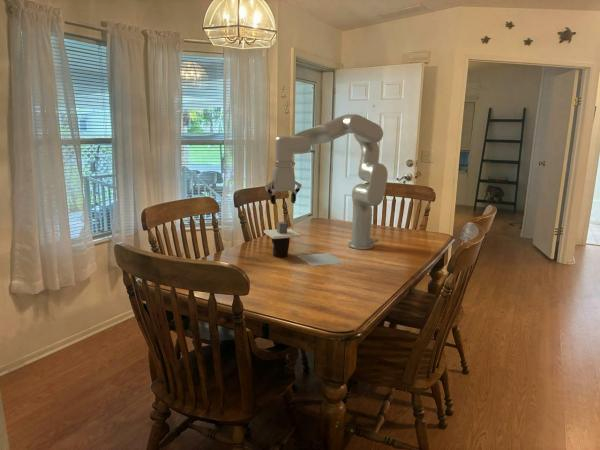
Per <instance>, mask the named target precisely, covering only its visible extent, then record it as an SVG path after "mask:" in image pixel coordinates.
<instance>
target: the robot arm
mask: <svg viewBox="0 0 600 450" xmlns="http://www.w3.org/2000/svg"><path fill="white" fill-rule="evenodd" d="M347 134H353V136H354V138H355V140H356V141H357V142H358V144H359V145H360V149H361V150H360V151H361V152H360V153H361V154H360V160H359V161H360V162H359V167H358V177H359V179H360V180H362V181H365V182H368V183H359V184H356V185H355V186H354V187H353V188H352V191H351V199H352V223H351V241H350V242H348V243H347V246H348V247H349V248H350V249H355V250H371V249H372V248H374V243H379V240H380V239H379V238H374V237H372V223H373V222H372V221H373V220H372V219H373V208H372V207H377V206H379V205H380V204H382V202H383V200H384V197H385V193H386V189H387V188H386V187H387V183H388V176H389V175H388V169H387V167H386V166H385V165H384V164H383V163H381V162H379V157H380V148H379V147H380V146H379V144H378V143H379V142H380V141H381V140H382V139H383V137H384V131H383V128H382V126H380V125H379V124H377V123H376V122H373V121H372V120H369V119H368V118H366V117H364V116H361V115H360V114H354V113H353V114H343V115H340V116H339V117H336V118H334V119H332V120H329V121H327V122H325V123H322V124H319V125H315V126H313V127H311V128H308V129H305V130H302V131H299V132H296V133H295V134H293V135H290V136H277V137H275V142H274V143H275V149H274V150H275V151H274V152H275V155H274V156H275V160H274V161H275V162H274V164H275V165H274V167H273V168H272V173H271V181H269V182H267V183H266V184H265V185H264V188H265V190H266V192H267V193H268V194H269V195H270V199H269V201H270V203H271V205H275V204H276V196H275V194H276V193H277V192H286V191H288V192H289V191H291V195H290V203H291V204H296V201H297V194H298V193H299V191H300V190H301V188H302V186H303V185H302V184H301V183H300V182H298V181H296V176H295V170H294V169H295V168H293V166H296V162H293V153H294V154H296V153H297V154H300V155H303V154H306V153H309V152H310V151H311V149H312V145H318V144H326V143H329V142H330V143H331V142H332V141H335V140H336V139H337V140H338V139H339V138H341V137H344V136H346V135H347ZM296 186H297V187H296ZM270 188H271V189H270Z"/></svg>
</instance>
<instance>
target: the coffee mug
mask: <svg viewBox="0 0 600 450" xmlns="http://www.w3.org/2000/svg"><path fill="white" fill-rule="evenodd" d="M290 241H291V238H280V239H272V238H271V245H272V247H271V248H272V256H273V257H274V258H277V259H279V258H280V259H281V258H287V257H288V255H289V247H290V243H291V242H290Z"/></svg>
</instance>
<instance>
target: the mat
mask: <svg viewBox="0 0 600 450" xmlns="http://www.w3.org/2000/svg"><path fill="white" fill-rule="evenodd" d="M297 258H299V259H300V260H302V261H303V262H305V263H306V264H308V265H309V266H311V267H315V266H316V267H317V266H325V265H326V266H327V265H333V264H334V265H335V264H343V263H344V264H345V261H343V260H341V259H339V258H337V257H336V256H334V255H332V254H331V253H330V252H323V253H315V254H313V253H312V254H303V255H297Z"/></svg>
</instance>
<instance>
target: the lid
mask: <svg viewBox="0 0 600 450" xmlns="http://www.w3.org/2000/svg"><path fill="white" fill-rule="evenodd" d="M263 233H264V234H265V235H267V236H269V237H270V238H271V240H272V239H280V238H290V239H291V238H293V239H294V238H301V237H302V236H301V234H300V233H298V231H297V232H296V231H295V230H294V229H292V228H288V222H285V221H277V222H276V229H263Z"/></svg>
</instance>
